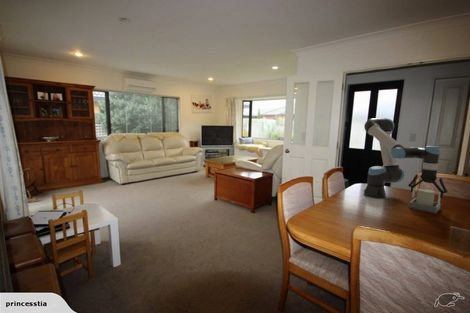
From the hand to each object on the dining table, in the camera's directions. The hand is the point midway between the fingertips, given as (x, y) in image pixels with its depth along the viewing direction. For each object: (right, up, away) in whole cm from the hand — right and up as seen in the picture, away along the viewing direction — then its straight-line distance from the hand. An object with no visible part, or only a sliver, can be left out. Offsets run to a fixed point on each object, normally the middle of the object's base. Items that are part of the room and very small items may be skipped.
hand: (425, 199), depth 152 cm
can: (0, -5, +1) cm, 5 cm away
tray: (0, -6, +1) cm, 6 cm away
